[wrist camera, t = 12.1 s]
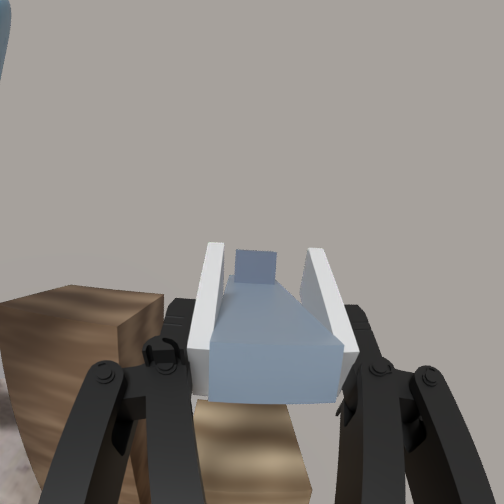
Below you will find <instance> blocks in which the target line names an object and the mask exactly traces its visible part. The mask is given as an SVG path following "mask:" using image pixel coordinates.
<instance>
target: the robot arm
mask: <svg viewBox="0 0 504 504" xmlns="http://www.w3.org/2000/svg"><path fill="white" fill-rule="evenodd" d="M10 24H11V8H10V4H9V1H8V0H0V79H1V73H2V69H3V64H4V59H5V54H6V49H7V44H8V38H9V32H10V26H11V25H10ZM223 280H224V243H216V242H209V243H208V247H207V251H206V255H205V260H204V265H203V269H202V274H201V279H200V284H199V288H198V293H197V298H196V299H183V298H175V299H174V300H173V301H172V303H170V305H169V306H168V308H167V312H166V317H165V319H164V322H163V326H162V329H161V333H160V335H159V336H154V337H152V338H150V339H149V340H147V341H146V343H145V344H144V345H143V348H142V354H143V358H144V361H145V363H144V364H142V365H139V366H134V367H127V368H122V367H121V366H120V365H119V364H118V363H116V362H114V361H111V360H103V361H99V362H97V363H95V364H94V365H92V366H91V367H90V369H89V370H88V372H87V374H86V376H85V379H84V381H83V383H82V385H81V388H80V390H79V392H78V395H77V397H76V400H75V402H74V404H73V407H72V409H71V412H70V414H69V417H68V419H67V422H66V424H65V427H64V429H63V432H62V435H61V437H60V440H59V443H58V445H57V448H56V451H55V454H54V457H53V459H52V462H51V465H50V468H49V471H48V474H47V477H46V480H45V483H44V487H43V490H42V493H41V497H40V500H39V503H38V504H118V501H119V497H120V492H121V488H122V483H123V479H124V475H125V471H126V467H127V463H128V459H129V455H130V451H131V447H132V443H133V439H134V435H135V432H136V428H137V424H138V420H140V419H146V432H147V454H148V470H149V483H150V494H151V504H207V503H206V498H205V492H204V486H203V481H202V475H201V469H200V462H199V456H198V449H197V442H196V435H195V428H194V420H193V412H192V404H191V394H192V393H193V395H202V396H208V393H209V348H210V339H211V335H212V332H213V331H214V327H215V324H216V320H217V317H218V313H219V310H220V307H221V303H222V297H223ZM300 297H301V302H302V306H303V307H304V308H305V309H306V310H308V311H309V312H310V313H311V314H312V315H313V316H314V317H315V318H316V319H317V320H318V321H319V322H320V323H321V324H322V325H323V326H324V327H325V328H326V329H327V330H328V331H329V332H331V333H332V334H333V335H334V336H336V337H337V338H338V339H339V340H340V341H341V342H342V343H343V344H344V345H345V346H344V353H343V360H342V367H341V373H340V379H339V386H338V391H337V397H338V396H339V394H340V392H341V390H343V395H344V399H343V401H342V403H341V405H340V406H339V408H338V410H337V412H336V416H338V415H339V414H340V412H341V415H340V440H339V457H338V471H337V483H336V494H335V504H405V474H406V477H407V480H408V484H409V488H410V491H411V495H412V499H413V502H414V504H496V503H495V500H494V496H493V493H492V490H491V487H490V484H489V481H488V479H487V476H486V473H485V471H484V468H483V465H482V462H481V460H480V457H479V455H478V452H477V450H476V447H475V445H474V442H473V440H472V438H471V435H470V433H469V431H468V428H467V426H466V424H465V421H464V419H463V417H462V415H461V412H460V410H459V408H458V406H457V404H456V401H455V399H454V397H453V395H452V393H451V391H450V389H449V387H448V385H447V383H446V381H445V379H444V377H443V375H442V374H441V372H440V371H439V370H437V369H436V368H434V367H431V366H421V367H419V368H418V369H417V370H416V371H415V373H411V372H406V371H401V370H397V369H395V368H394V366H393V364H392V363H391V362H390V361H389V360H387V359H386V358H384V357H382V355H381V353H380V350H379V347H378V345H377V342H376V339H375V337H374V335H373V332H372V331H371V327H370V324H369V323H368V319H367V317H366V314H365V312H364V311H363V310H362V309H361V308H360V307H359V306H358V305H344V304H343V301H342V298H341V296H340V293H339V290H338V287H337V285H336V282H335V279H334V276H333V274H332V271H331V268H330V265H329V263H328V261H327V258H326V255H325V253H324V250H323V249H321V248H308V251H307V256H306V262H305V267H304V272H303V277H302V282H301V288H300Z"/></svg>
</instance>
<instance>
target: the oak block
mask: <svg viewBox="0 0 504 504" xmlns="http://www.w3.org/2000/svg"><path fill="white" fill-rule="evenodd" d="M193 420H194V428H195V435H196V442H197V449H198V456H199V462H200V469H201V475H202V481H203V486H204V492H205V498H206V503H207V504H309V501H310V497H311V493H312V487H311V484H310V481H309V478H308V474H307V472H306V468H305V465H304V462H303V459H302V455H301V452H300V448H299V445H298V442H297V439H296V435H295V432H294V429H293V426H292V422H291V419H290V416H289V412H288V409H287V406H286V404H244V403H224V402H210V401H208V400H199V399H198V400H197V404H196V408H195V412H194V416H193Z"/></svg>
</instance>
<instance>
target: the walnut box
mask: <svg viewBox="0 0 504 504" xmlns="http://www.w3.org/2000/svg"><path fill="white" fill-rule="evenodd" d="M163 317H164V294H155V293H144V292H132V291H122V290H112V289H103V288H94V287H86V286H77V285H68V286H64V287H60V288H56V289H52V290H48V291H44V292H40V293H37V294H33V295H29V296H25V297H21V298H17V299H13V300H10V301H6V302H2V303H0V351H1V357H2V363H3V369H4V374H5V379H6V383H7V388H8V392H9V396H10V401H11V404H12V408H13V412H14V416H15V419H16V423H17V426H18V429H19V432H20V435H21V439H22V442H23V444H24V447H25V450H26V453H27V456H28V458H29V461H30V464H31V466H32V469H33V471H34V474H35V476H36V478H37V481H38V483H39V485H40V488H41V490H43V487H44V483H45V480H46V477H47V474H48V471H49V468H50V465H51V462H52V459H53V457H54V454H55V451H56V448H57V445H58V443H59V440H60V437H61V435H62V432H63V429H64V427H65V424H66V422H67V419H68V417H69V414H70V412H71V409H72V407H73V404H74V402H75V400H76V397H77V395H78V392H79V390H80V388H81V385H82V383H83V381H84V379H85V376H86V374H87V372H88V370H89V369H90V367H91V366H92V365H94V364H95V363H97V362H99V361H103V360H111V361H114V362H116V363H118V364H119V365H120V366H121V367H122V368H127V367H134V366H139V365H142V364H144V363H145V361H144V358H143V354H142V348H143V345H144V344H145V343H146V341H147V340H149V339H150V338H152V337H154V336H159V335H160V333H161V329H162V326H163V322H164V318H163ZM118 504H151V494H150V483H149V470H148V454H147V432H146V419H140V420H138V424H137V428H136V432H135V435H134V439H133V443H132V447H131V451H130V455H129V459H128V463H127V467H126V471H125V475H124V479H123V483H122V488H121V492H120V497H119V501H118Z"/></svg>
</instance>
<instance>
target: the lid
mask: <svg viewBox="0 0 504 504" xmlns="http://www.w3.org/2000/svg"><path fill="white" fill-rule="evenodd" d="M276 255H277V253H276V252H271V251H254V250H238V249H237V250H236V261H235V275H229V279H228V282H227V285H226V289H225V292H224V295H223V298H222V303H221V307H220V310H219V313H218V317H217V320H216V324H215V327H214V331H213V332H212V335H211V339H210V348H209V393H208V401H210V402H224V403H244V404H314V403H335V402H336V397H337V391H338V386H339V379H340V373H341V367H342V360H343V353H344V346H345V345H344V344H343V343H342V342H341V341H340V340H339V339H338V338H337V337H336V336H334V335H333V334H332V333H331V332H329V331H328V330H327V329H326V328H325V327H324V326H323V325H322V324H321V323H320V322H319V321H318V320H317V319H316V318H315V317H314V316H313V315H312V314H311V313H310V312H309V311H308V310H306V309H305V308H304V307H303V306H302V304H301V303H300V302H299V301H297V300H296V299H295V298H294V297H293V296H292V295H291V294H290V293H289V292H288V291H287V290H286V289H285V288H284V287H283V286H282V285H281V284H280V283H278V282H277V281H276V280H275V270H276Z"/></svg>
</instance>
